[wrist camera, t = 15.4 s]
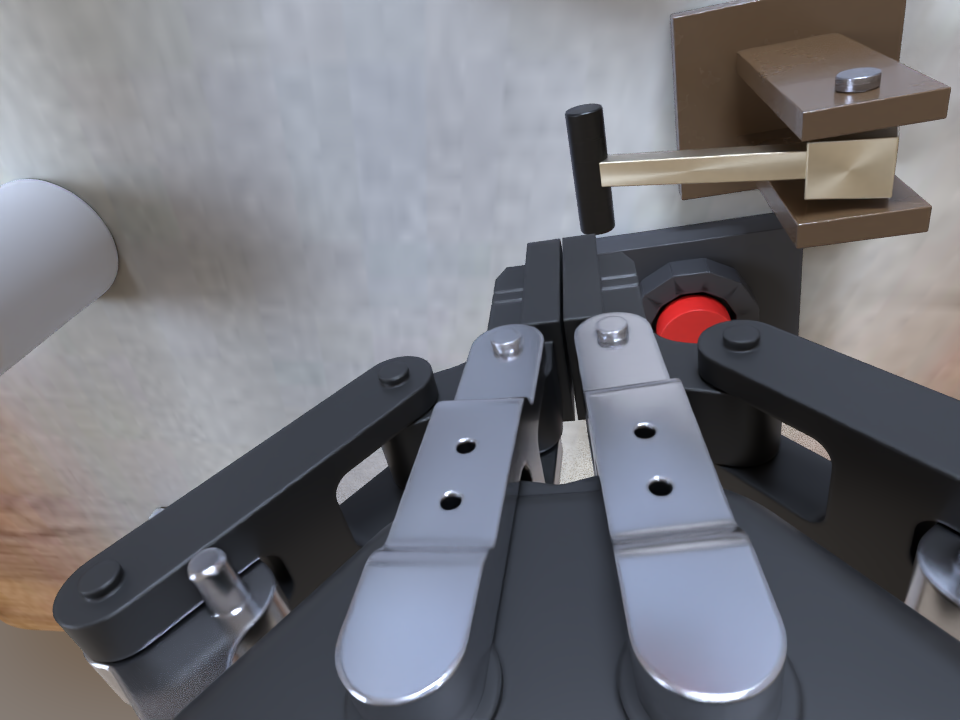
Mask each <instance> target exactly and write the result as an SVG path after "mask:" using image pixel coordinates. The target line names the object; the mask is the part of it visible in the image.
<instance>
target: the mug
mask: <svg viewBox="0 0 960 720" xmlns="http://www.w3.org/2000/svg"><path fill="white" fill-rule="evenodd" d="M117 271H118V254H117V249H116V246H115V243H114V240H113V238H112V236H111V233H110V232H109V230H108V228H107V226H106V225H105V224H104V222H103V221H102V219H101V218H100V217H99V216H98V215H97V213H96V212H95V211H94V210H93V209H92V208H91V207H90V206H89V205H88V204H87V203H85V202H84V201H83V200H82V199H80V198H79V197H78V196H76V195H75V194H73V193H72V192H70V191H68V190H66V189H64V188H62V187H60V186H58V185H55V184H53V183H49V182H46V181H42V180H37V179H21V180H15V181H11V182H8V183H5V184H3V185H1V186H0V376H1V375H2V374H4V373H5V372H6V371H7V370H9V369H10V368H11V367H12V366H13V365H15V364H16V363H17V362H18V361H20V360H21V359H22V358H23V357H25V356H26V355H27V354H28V353H30V352H31V351H32V350H33V349H34V348H36V347H37V346H38V345H39V344H41V343H42V342H43V341H44V340H46V339H47V338H48V337H49V336H51V335H52V334H53V333H54V332H56V331H57V330H58V329H59V328H60V327H62V326H63V325H64V324H65V323H67V322H68V321H69V320H70V319H72V318H73V317H74V316H75V315H77V314H78V313H79V312H81V311H82V310H83V309H84V308H86V307H87V306H89V305H90V304H91V303H93V302H94V301H95V300H97V299H98V298H99V297H100V296H101V295H103V294H104V293H105V292H106V291H107V290H108V289H109V288H110V286H111V285H112V284H113V282H114V280H115V278H116V275H117Z"/></svg>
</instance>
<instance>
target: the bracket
mask: <svg viewBox="0 0 960 720" xmlns="http://www.w3.org/2000/svg"><path fill="white" fill-rule="evenodd" d="M905 7H906V0H736V1H731V2H726V3H722V4H717V5H712V6H707V7H703V8H698V9H693V10H688V11H684V12H679V13H674V14H671V15H670V24H671V43H672V63H673V82H674V102H675V121H676V141H677V151H678V150H694V149H710V148H726V147H742V146H758V145H774V144H790V143H806V142H808V141H811V140H817V139H823V138H829V137H835V136H841V135H848V134H854V133H860V132H866V131H872V130H878V129H884V128H890V127H896V126H903V125H909V124H915V123H921V122H927V121H933V120H939V119H945V118H946V116H947V110H948V104H949V98H950V92H951V87H949V86H947V85H945V84H943V83H941V82H939V81H937V80H935V79H933V78H931V77H928V76H926V75H924V74H922V73H920V72H918V71H916V70H914V69H912V68H910V67H908V66H906V65H904V64H902V63H899V58H900V49H901V41H902V33H903V24H904V16H905ZM754 189H759V190H760V192H761V193H762V195H763V196H764V198H765V199H766V201H767V203H768V204H769V206H770V207H771V209H772V210H773V212H774V213H775V215H776V217H777V218H778V220H779V221H780V223H781V224H782V226H783V228H784V229H785V231H786V232H787V234H788V235H789V237H790V239H791V240H792V242H793V243H794V245H795V246H796V248H797V249H800V248H808V247H815V246H823V245H830V244H838V243H846V242H853V241H861V240H868V239H876V238H884V237H891V236H899V235H907V234H914V233H922V232H927V231H928V228H929V222H930V216H931V209H932V206H931V205H930V204H929V203H928V202H926V201H925V200H924V199H923V198H922V197H920V196H919V195H918V194H917V193H916V192H915V191H913V190H912V189H911V188H910V187H909V186H907V185H906V184H905V183H904V182H903V181H902V180H900V179H899V178H898V177H897V176H896V175H894V183H893V191H892V197H891V198H868V199H827V200H805V199H804V193H805V179H796V180H770V181H744V182H718V183H692V184H679V193H680V196H681V199H682V200H688V199H695V198H701V197H708V196H715V195H721V194H728V193H734V192H741V191H748V190H754Z"/></svg>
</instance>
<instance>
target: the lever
mask: <svg viewBox="0 0 960 720" xmlns="http://www.w3.org/2000/svg"><path fill="white" fill-rule="evenodd" d="M565 118H566V125H567V133H568V140H569V147H570V155H571V162H572V169H573V176H574V184H575V191H576V198H577V206H578V213H579V220H580V228H581V231H582V232H583V233H584V234H587V235H588V234H595V235H599V234H604V233H607V232H609V231H611V230H612V229H613V228H614V226H615V220H614V210H613V201H612V192H611V187H614V186H640V185H666V184H692V183H718V182H744V181H770V180H796V179H805V193H804V199H805V200H827V199H868V198H891V197H892V191H893V183H894V175H895V167H896V159H897V151H898V143H899V126H896V127H890V128H884V129H878V130H872V131H866V132H860V133H854V134H848V135H841V136H835V137H829V138H823V139H817V140H811V141H808V142H806V143H790V144H774V145H758V146H742V147H726V148H710V149H694V150H678V151H661V152H645V153H629V154H613V155H608V154H607V145H606V136H605V126H604V117H603V108H602V106H601V105H600V104H584V105H580V106H576V107H573V108H571V109H569V110H567V111H566V113H565Z"/></svg>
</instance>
